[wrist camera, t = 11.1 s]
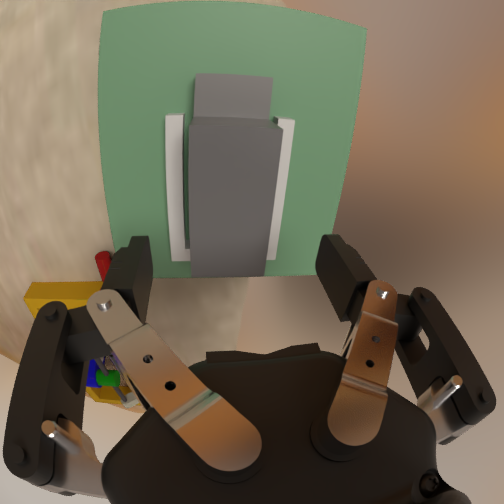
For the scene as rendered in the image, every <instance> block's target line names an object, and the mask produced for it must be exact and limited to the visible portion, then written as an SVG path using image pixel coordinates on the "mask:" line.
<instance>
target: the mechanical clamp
mask: <svg viewBox="0 0 504 504" xmlns="http://www.w3.org/2000/svg"><path fill="white" fill-rule="evenodd" d="M95 260H96V263H97V266H98V269H99V272H100V275H101V278H102V281H92V282H32V284H31V286H30V287H29V289H28V291H27V292H26V294H25V296H24V298H23V299H24V301H25V303H26V305H27V306H28V308H29V310H30V312H31V313H32V315H33V317H34V319H35V318H36V315H37V313H38V311H39V310H40V308H41V307H42V306H43V305H45V304H46V303H48V302H51V301H61V302H63V303H64V304H65V305H66V307H67V309H68V310H69V309H73V308H77V307H81V306H85V305H87V301H88V299H89V298H90V296H91V295H93V294H94V293H96V292H98V291H100V290H101V287H102V284H103V282H104V279H105V276H106V274H107V271H108V269H109V266H110V263H111V259H110V255H109V253H108V252H107V251H103V252H99V253H98V254H96V256H95ZM104 365H105V357H101V358H97V359H92V360H90V363H89V369H88V376H87V384H86V392H87V393H88V394H89V395H90V396H91V397H92V399H93V400H94V401H95V402H102V403H112V404H123V405H124V407H125V408H131V407H133V406H134V405H140V406H141V404H140V403H139V401H138V400H137V399H136V397H135V396H134V394H133V392H132V391H131V389H130V388H129V387H124V386H119V385H120V374H119V372H118V370H107V369H106V367H105V366H104Z"/></svg>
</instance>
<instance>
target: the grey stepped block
mask: <svg viewBox="0 0 504 504" xmlns="http://www.w3.org/2000/svg"><path fill="white" fill-rule="evenodd" d="M272 86H273V78H272V77H263V76H252V75H238V74H215V73H196V78H195V95H194V116H193V119H192V121H191V123H190V125H189V160H188V192H189V236H190V260H191V278H200V277H256V276H257V277H258V276H264V274H265V267H266V259H267V252H268V245H269V238H270V231H271V223H272V216H273V208H274V201H275V193H276V186H277V178H278V170H279V162H280V154H281V146H282V138H283V130H284V129H282V128H281V127H279V126H278V125H276V124H275V123H273V122H272V121H270V120H269V115H270V105H271V96H272Z"/></svg>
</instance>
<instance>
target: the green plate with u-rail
mask: <svg viewBox="0 0 504 504" xmlns="http://www.w3.org/2000/svg"><path fill="white" fill-rule="evenodd" d="M366 32H367V29H366V28H364V27H361V26H358V25H355V24H351V23H348V22H345V21H341V20H338V19H334V18H331V17H327V16H323V15H319V14H315V13H310V12H306V11H301V10H295V9H290V8H284V7H278V6H271V5H263V4H255V3H244V2H229V1H178V2H163V3H153V4H144V5H137V6H130V7H124V8H118V9H113V10H108V11H103V17H102V25H101V35H100V47H99V65H98V121H99V140H100V153H101V164H102V173H103V182H104V190H105V197H106V204H107V210H108V216H109V222H110V228H111V233H112V238H113V243H114V248H115V253H116V252H117V251H118V250H119V249H120V248H121V247H128V245H129V242H130V239H131V237H132V236H146V235H148V236H149V240H150V248H151V255H152V262H153V278H191V260H190V236H189V192H188V160H189V125H190V123H191V121H192V119H193V116H194V95H195V78H196V73H215V74H238V75H252V76H263V77H272V78H273V86H272V96H271V105H270V115H269V120H270V121H272V122H273V123H275V124H276V125H278V126H279V127H281V128H282V129H284V130H283V138H282V146H281V154H280V162H279V170H278V178H277V186H276V193H275V201H274V208H273V216H272V223H271V231H270V238H269V245H268V252H267V259H266V267H265V274H264V276H292V275H317V273H316V270H315V261H316V257H317V253H318V249H319V245H320V241H321V238H322V236H323V235H324V234H331V233H332V229H333V226H334V221H335V217H336V213H337V209H338V204H339V200H340V196H341V191H342V187H343V182H344V178H345V173H346V168H347V163H348V158H349V153H350V148H351V142H352V137H353V131H354V125H355V119H356V113H357V107H358V100H359V94H360V87H361V79H362V71H363V63H364V54H365V44H366ZM258 277H260V276H258ZM200 278H214V277H200Z"/></svg>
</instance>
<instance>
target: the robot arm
mask: <svg viewBox="0 0 504 504" xmlns="http://www.w3.org/2000/svg"><path fill="white" fill-rule="evenodd" d="M315 270H316V273H317V275H318V277H319V279H320V281H321V283H322V285H323V287H324V289H325V291H326V293H327V295H328V297H329V299H330V301H331V303H332V305H333V307H334V309H335V311H336V313H337V315H338V318H339V320H340V321H341V322H344V321H351V326H350V327H349V330H348V333H347V336H346V339H345V341H344V344H343V347H342V349H341V352H340V355H337V354H334V353H330V352H326V351H320V348H319V346H318V343H311V344H303V345H295V346H290V347H287V348H285V349H281V350H278V351H275V352H272V353H269V354H256V353H248V352H241V351H215V352H206V360H205V361H201V362H198V363H196V364H193V365H192V366H190V367H187V366H186V365H185V364H184V363H183V362H182V361H181V360H180V359H179V358H178V357H177V356H176V355H175V353H174V352H173V351H172V350H171V349H170V348H169V347H168V346H167V345H166V343H165V342H164V341H163V340H162V339H161V338H160V337H159V335H158V334H157V333H156V332H155V331H154V330H153V328H152V327H151V326H150V325H149V324H147V323H145V321H146V314H147V308H148V302H149V296H150V290H151V284H152V279H153V262H152V255H151V248H150V240H149V236H148V235H146V236H132V237H131V239H130V242H129V245H128V247H121V248H120V249H119V250H118V251H117V252H116V253H115V254H114V256H113V258H112V261H111V263H110V266H109V269H108V271H107V274H106V276H105V279H104V282H103V284H102V287H101V290H100V291H98V292H96V293H94V294H93V295H91V296H90V298H89V299H88V301H87V305H85V306H81V307H77V308H73V309H69V310H68V309H67V307H66V305H65V304H64V303H63V302H61V301H51V302H48V303H46V304H45V305H43V306H42V307H41V308H40V310H39V311H38V313H37V315H36V318H35V321H34V323H33V326H32V329H31V331H30V334H29V337H28V340H27V343H26V346H25V349H24V352H23V355H22V359H21V362H20V366H19V369H18V373H17V376H16V380H15V384H14V388H13V392H12V397H11V401H10V406H9V411H8V417H7V423H6V430H5V436H4V445H3V458H4V462H5V464H6V466H7V468H8V469H9V471H10V472H11V473H12V474H14V475H15V476H17V477H19V478H21V479H23V480H26V481H28V482H29V483H31V484H33V485H35V486H37V487H40V488H43V489H45V490H48V491H50V492H54V493H59V494H62V495H66V496H72V495H75V494H76V493H77V494H82V495H87V496H93V497H99V498H106V499H108V500H109V501H110V503H111V504H471V501H470V500H469V498H468V497H467V496H466V495H465V494H464V493H462V492H460V491H458V490H456V489H454V488H452V487H451V486H449V485H448V484H447V483H446V482H444V480H442V478H441V476H440V475H439V473H438V470H437V465H436V444H437V443H438V444H442V445H446V444H448V443H450V442H451V441H453V440H454V439H456V438H457V437H459V436H460V435H462V434H463V433H465V432H466V431H468V430H469V429H470V428H472V427H473V426H474V425H476V424H477V423H478V422H480V421H481V420H482V419H484V418H485V417H486V416H487V415H489V414H490V413H491V412H492V411H493V410H494V409H495V406H496V397H495V394H494V392H493V389H492V388H491V386H490V384H489V382H488V380H487V378H486V376H485V374H484V373H483V371H482V369H481V367H480V365H479V363H478V362H477V360H476V358H475V356H474V355H473V353H472V351H471V350H470V348H469V346H468V345H467V343H466V341H465V340H464V338H463V337H462V335H461V333H460V332H459V330H458V329H457V327H456V326H455V324H454V323H453V321H452V319H451V318H450V316H449V315H448V313H447V312H446V311H445V309H444V308H443V306H442V305H441V303H440V302H439V300H438V299H437V298H436V296H435V295H434V294H433V293H432V292H431V291H429V290H428V289H425V288H422V287H416V288H414V290H413V291H412V293H411V295H410V296H409V295H403V294H397V291H396V289H395V288H394V287H393V286H392V285H391V284H389V283H388V282H385V281H382V280H377V278H376V277H375V276H374V274H373V273H372V271H371V270H370V269H369V267H368V266H367V264H365V262H364V260H363V259H362V258H361V256H360V255H359V254H358V252H357V251H356V250H355V249H354V248H352V247H351V246H350V245H348V244H346V243H345V242H344V241H343V239H342V238H341V237H340V235H338V234H324V235H323V236H322V238H321V241H320V245H319V249H318V253H317V257H316V261H315ZM422 329H423V330H424V332H425V333H426V335H427V337H428V339H429V342H430V343H429V348H428V350H426V348H425V346H424V344H423V343H422V341H421V339H420V337H419V333H420V332H421V330H422ZM394 349H395V351H396V353H397V355H398V357H399V359H400V361H401V364H402V366H403V368H404V370H405V372H406V374H407V377H408V379H409V381H410V383H411V386H412V388H413V390H414V392H415V395H416V397H417V399H418V401H417V406H416V405H415V404H413V403H412V402H410V401H408V400H407V399H405V398H404V397H402V396H401V395H399V394H398V393H396V392H394V391H393V390H391V389H390V388H388V387H387V384H388V380H389V375H390V370H391V365H392V360H393V355H394ZM105 356H109V358H110V359H111V361H112V362H113V364H114V365H115V367H116V369H117V370H118V372H119V373H120V375H121V376H122V378H123V379H124V381H125V382H126V383H127V385H128V386H129V388H130V389H131V391H132V392H133V394H134V396H135V397H136V399H137V400H138V401H139V403H140V404H141V406H142V407H143V408H144V410H145V411H146V412H145V413H144V414H143V415H142V416H141V417H140V419H139V420H138V421H137V422H136V423H135V424H134V425H133V426H132V427H131V429H130V430H129V431H128V432H127V433H126V434H125V435H124V436H123V438H122V439H121V440H120V441H119V442H118V443H117V444H116V445H115V446H114V447H113V449H112V450H111V451H110V452H109V453H108V455H107V456H106V458H105V460H104V462H103V463H100V462H99V460H98V459H97V457H96V454H95V448H94V444H93V442H92V440H91V439H90V437H89V436H88V435H87V434H85V433H84V432H83V431H82V423H83V410H84V400H85V392H86V384H87V376H88V369H89V363H90V360H92V359H97V358H101V357H105Z"/></svg>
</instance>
